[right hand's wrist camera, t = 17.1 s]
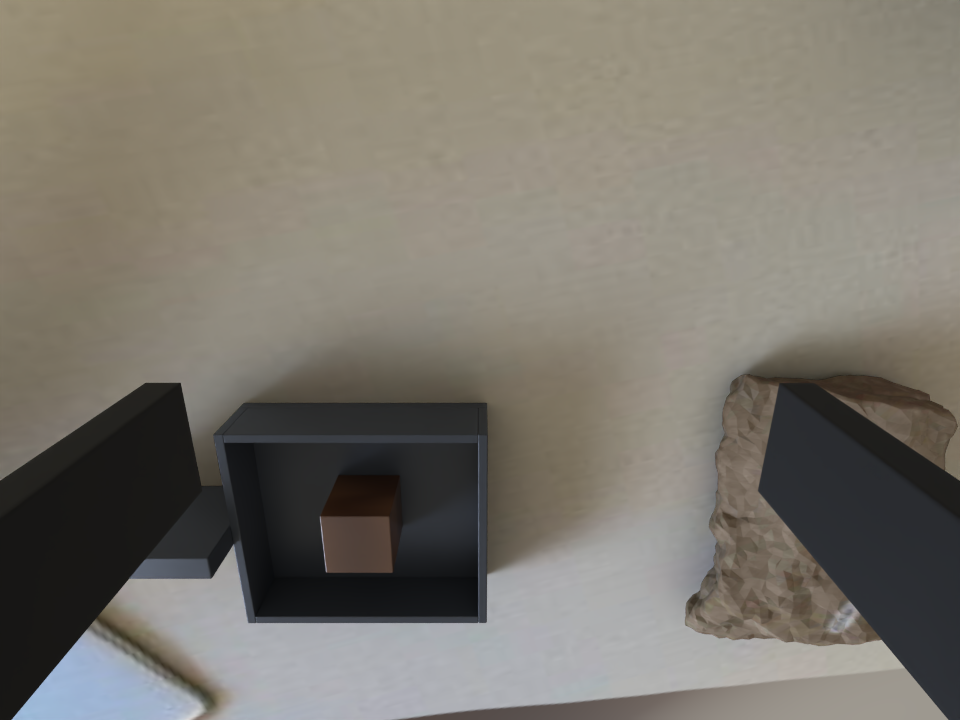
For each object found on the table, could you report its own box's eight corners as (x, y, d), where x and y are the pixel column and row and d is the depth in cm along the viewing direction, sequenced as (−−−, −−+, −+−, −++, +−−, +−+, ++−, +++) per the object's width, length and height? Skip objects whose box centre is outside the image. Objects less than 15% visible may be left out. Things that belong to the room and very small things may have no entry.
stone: (882, 646, 42) (925, 707, 37) (678, 610, 46) (689, 661, 40) (939, 378, 39) (998, 399, 33) (712, 358, 42) (730, 374, 36)
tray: (486, 402, 39) (488, 461, 32) (485, 575, 44) (487, 661, 37) (102, 402, 39) (12, 461, 32) (146, 575, 44) (78, 661, 37)
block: (399, 474, 40) (389, 516, 36) (402, 526, 42) (393, 573, 37) (338, 474, 40) (319, 516, 36) (343, 526, 42) (325, 573, 37)
